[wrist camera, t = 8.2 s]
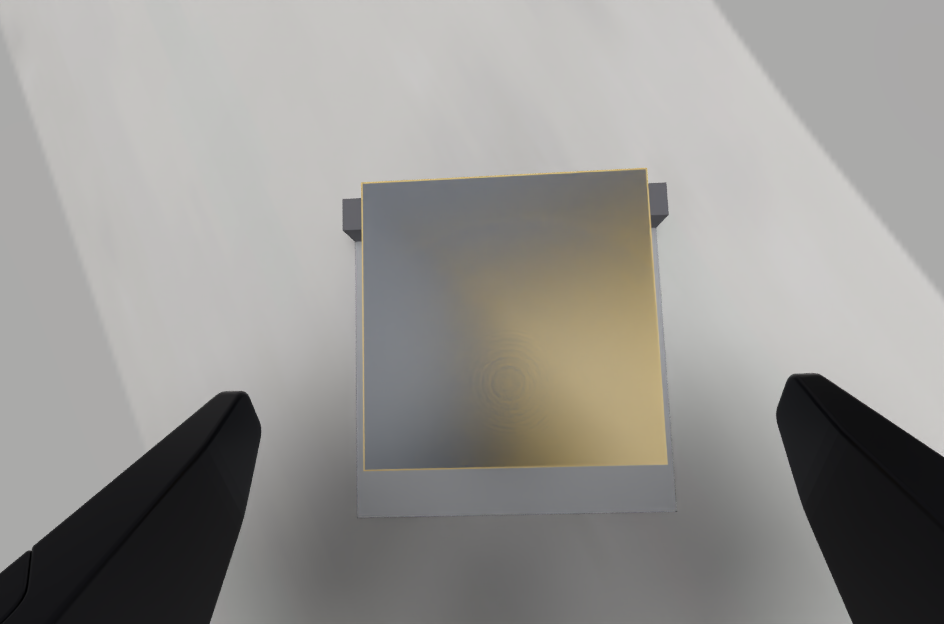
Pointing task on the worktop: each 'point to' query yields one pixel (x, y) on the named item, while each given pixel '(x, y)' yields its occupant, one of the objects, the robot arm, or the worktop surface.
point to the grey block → (510, 323)
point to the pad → (513, 485)
